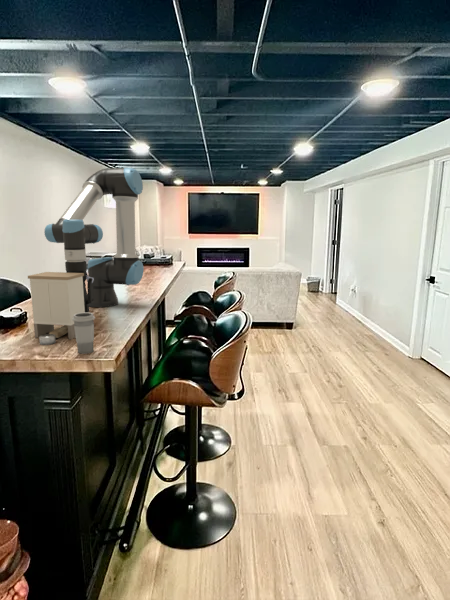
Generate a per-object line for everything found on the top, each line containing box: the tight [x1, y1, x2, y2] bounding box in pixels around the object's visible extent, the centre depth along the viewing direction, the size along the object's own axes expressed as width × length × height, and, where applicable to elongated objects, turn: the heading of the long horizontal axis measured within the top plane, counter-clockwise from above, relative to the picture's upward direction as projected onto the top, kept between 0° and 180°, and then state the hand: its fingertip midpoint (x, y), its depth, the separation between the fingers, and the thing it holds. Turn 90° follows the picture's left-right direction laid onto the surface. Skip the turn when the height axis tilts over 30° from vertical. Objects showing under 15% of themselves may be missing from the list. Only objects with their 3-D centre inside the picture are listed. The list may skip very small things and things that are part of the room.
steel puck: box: [38, 333, 57, 346], centre depth 131 cm, size 5×5×2 cm
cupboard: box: [27, 271, 85, 340], centre depth 139 cm, size 11×15×22 cm
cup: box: [72, 312, 96, 355], centre depth 122 cm, size 7×7×12 cm
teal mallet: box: [49, 325, 68, 339], centre depth 144 cm, size 20×4×12 cm, turn 172°
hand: (79, 320), depth 152 cm, fingers closed on teal mallet, 4 cm apart
